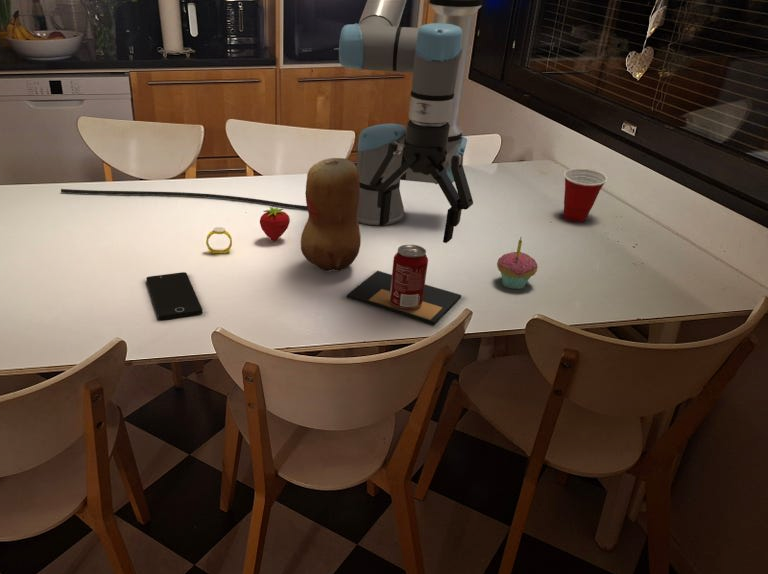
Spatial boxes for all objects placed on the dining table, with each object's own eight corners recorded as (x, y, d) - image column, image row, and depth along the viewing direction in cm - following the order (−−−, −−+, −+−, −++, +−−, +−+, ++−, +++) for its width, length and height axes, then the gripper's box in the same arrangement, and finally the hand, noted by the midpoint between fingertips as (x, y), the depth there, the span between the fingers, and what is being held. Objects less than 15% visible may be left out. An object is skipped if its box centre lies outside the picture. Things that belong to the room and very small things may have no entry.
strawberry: (293, 244, 167) (293, 205, 162) (263, 248, 165) (263, 208, 160) (285, 235, 172) (285, 196, 166) (256, 238, 170) (256, 200, 164)
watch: (206, 255, 161) (205, 231, 158) (206, 250, 163) (205, 227, 160) (232, 254, 162) (231, 231, 158) (231, 249, 164) (231, 226, 161)
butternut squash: (291, 261, 159) (293, 154, 145) (342, 252, 164) (349, 147, 150) (316, 286, 149) (321, 174, 135) (370, 276, 153) (380, 166, 139)
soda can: (421, 313, 138) (428, 259, 131) (387, 309, 139) (393, 255, 132) (422, 297, 143) (429, 245, 137) (390, 294, 144) (396, 241, 138)
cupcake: (526, 296, 146) (538, 245, 140) (487, 286, 150) (498, 235, 143) (537, 281, 152) (549, 231, 146) (499, 272, 156) (510, 222, 149)
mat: (346, 297, 145) (346, 294, 144) (377, 273, 155) (377, 270, 154) (433, 325, 136) (434, 321, 135) (460, 298, 145) (461, 294, 145)
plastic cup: (552, 222, 182) (562, 178, 175) (555, 208, 190) (565, 165, 183) (595, 228, 178) (608, 183, 172) (596, 214, 187) (608, 171, 180)
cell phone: (159, 320, 136) (158, 316, 135) (146, 280, 150) (145, 276, 149) (203, 313, 138) (202, 309, 137) (186, 275, 152) (185, 271, 152)
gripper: (357, 114, 125) (350, 223, 137) (488, 138, 113) (468, 254, 125) (376, 105, 130) (367, 211, 142) (504, 128, 118) (483, 240, 130)
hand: (414, 232), depth 133 cm, fingers open, 13 cm apart
